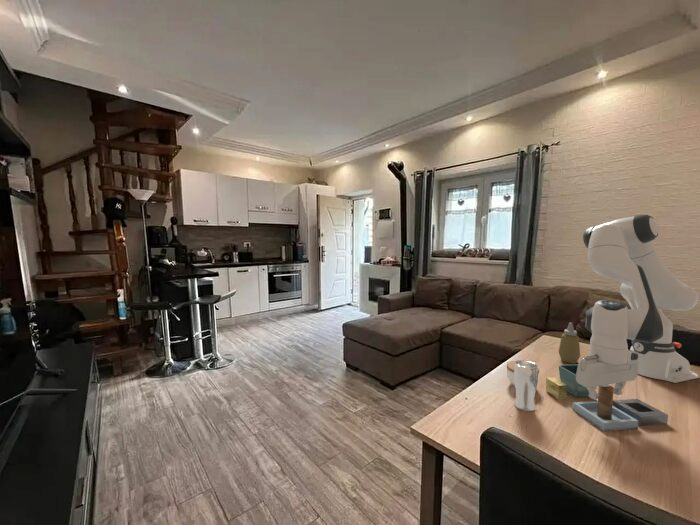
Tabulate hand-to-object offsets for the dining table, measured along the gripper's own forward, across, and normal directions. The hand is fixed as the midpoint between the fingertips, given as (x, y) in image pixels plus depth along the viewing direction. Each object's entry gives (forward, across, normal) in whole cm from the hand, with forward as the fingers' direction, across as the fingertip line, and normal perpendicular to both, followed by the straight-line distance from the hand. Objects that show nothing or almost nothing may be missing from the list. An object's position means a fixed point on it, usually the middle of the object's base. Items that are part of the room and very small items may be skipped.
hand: (605, 395), depth 93 cm
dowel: (+7, 0, 0) cm, 7 cm away
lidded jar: (+8, -9, +24) cm, 26 cm away
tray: (+8, 0, 0) cm, 8 cm away
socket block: (+8, +12, -2) cm, 14 cm away
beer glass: (+8, -19, +12) cm, 23 cm away
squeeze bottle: (+8, +30, +37) cm, 48 cm away
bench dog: (+8, -2, +15) cm, 17 cm away
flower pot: (+8, +7, +14) cm, 17 cm away
